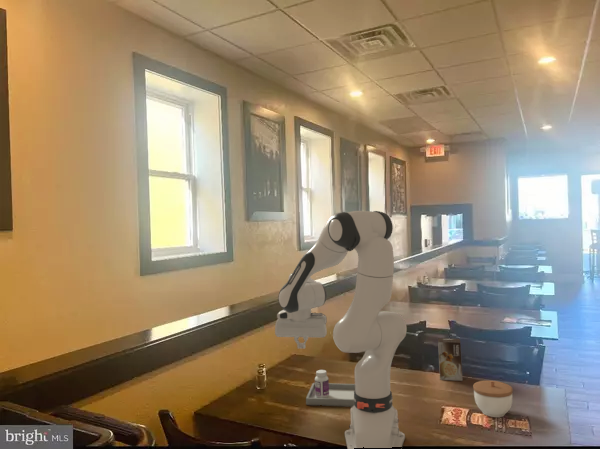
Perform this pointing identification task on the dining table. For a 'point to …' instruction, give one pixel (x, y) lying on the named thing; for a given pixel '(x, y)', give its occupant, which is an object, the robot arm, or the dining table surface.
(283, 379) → the dining table surface
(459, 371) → the food box
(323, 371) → the pill bottle
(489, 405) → the lidded bowl
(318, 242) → the robot arm
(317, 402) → the grey tray
